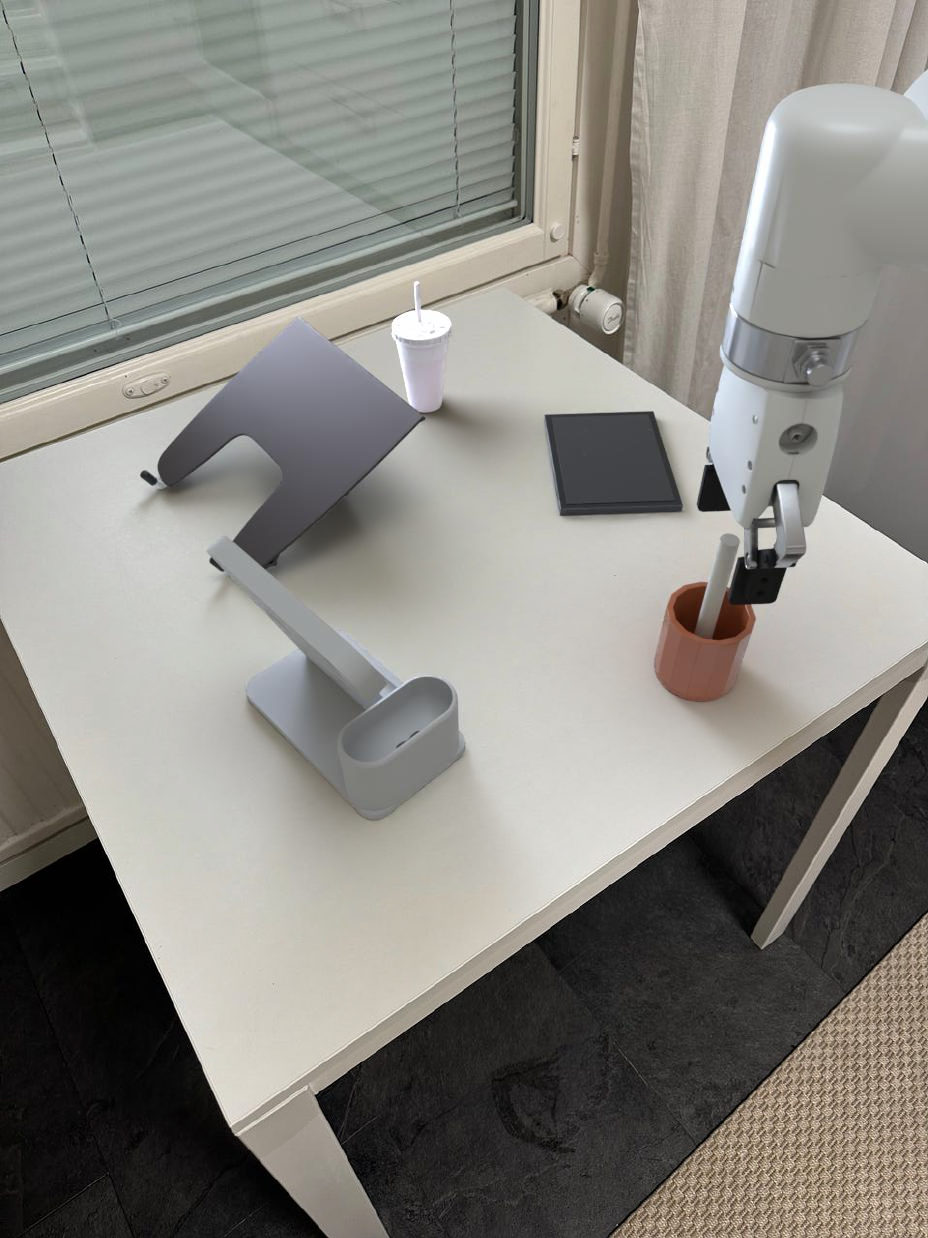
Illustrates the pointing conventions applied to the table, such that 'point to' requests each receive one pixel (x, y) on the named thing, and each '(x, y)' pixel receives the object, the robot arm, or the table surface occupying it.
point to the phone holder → (347, 701)
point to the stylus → (717, 585)
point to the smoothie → (423, 354)
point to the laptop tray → (295, 433)
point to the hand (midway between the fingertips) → (733, 552)
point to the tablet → (610, 464)
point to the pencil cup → (701, 646)
